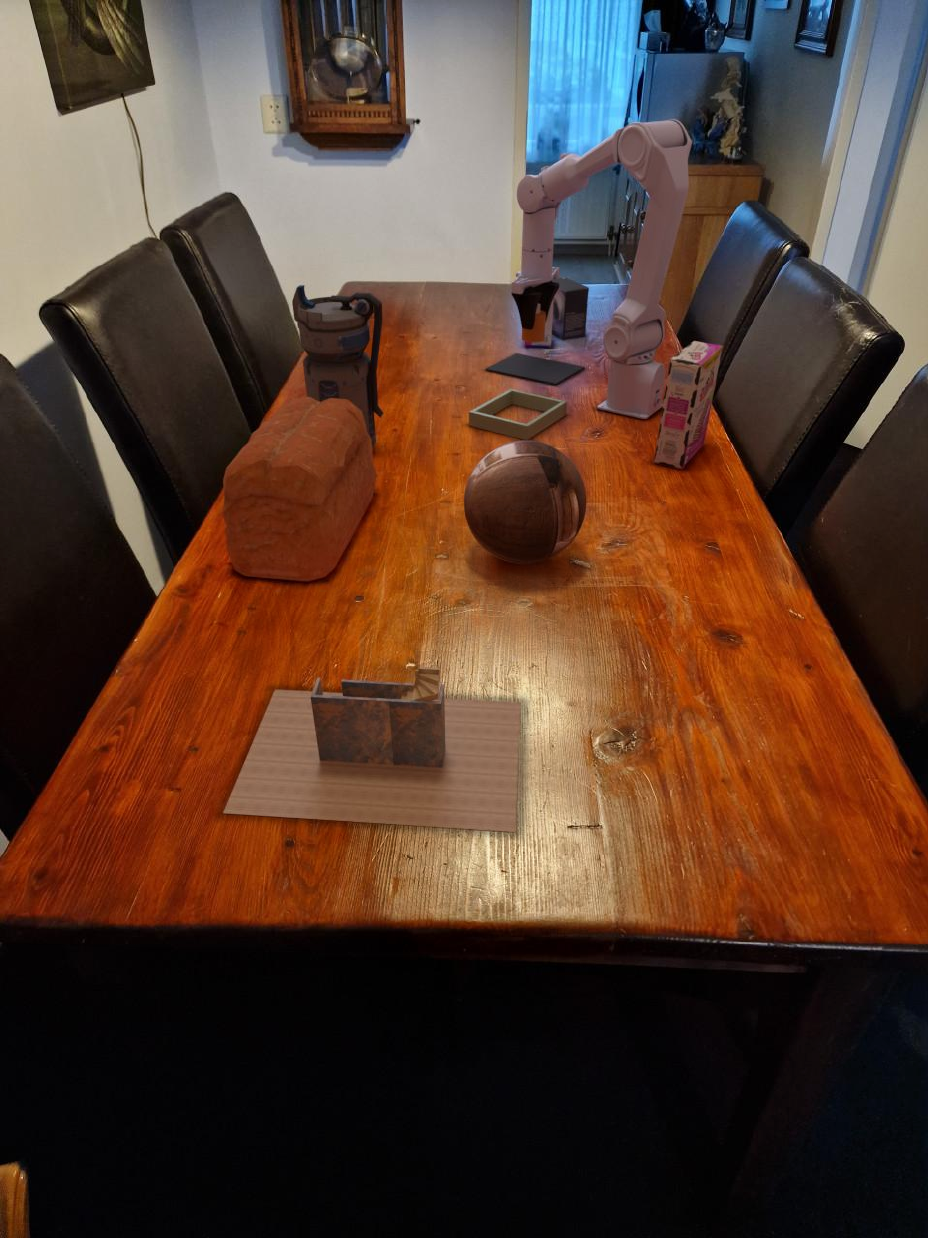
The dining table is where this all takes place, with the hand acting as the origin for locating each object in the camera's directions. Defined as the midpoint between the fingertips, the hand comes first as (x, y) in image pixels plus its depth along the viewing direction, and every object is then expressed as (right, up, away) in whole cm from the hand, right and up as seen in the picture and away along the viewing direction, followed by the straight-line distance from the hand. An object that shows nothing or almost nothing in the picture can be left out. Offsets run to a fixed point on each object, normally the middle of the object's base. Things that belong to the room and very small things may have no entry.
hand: (534, 325), depth 156 cm
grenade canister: (-32, -29, -25) cm, 50 cm away
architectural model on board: (-21, -69, -81) cm, 108 cm away
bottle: (0, -2, +1) cm, 3 cm away
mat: (+1, -6, +7) cm, 10 cm away
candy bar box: (+21, -30, -26) cm, 45 cm away
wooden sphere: (-6, -48, -52) cm, 71 cm away
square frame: (-4, -22, -15) cm, 26 cm away
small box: (+9, +9, +29) cm, 31 cm away
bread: (-34, -44, -46) cm, 72 cm away
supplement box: (+3, +3, +21) cm, 22 cm away
